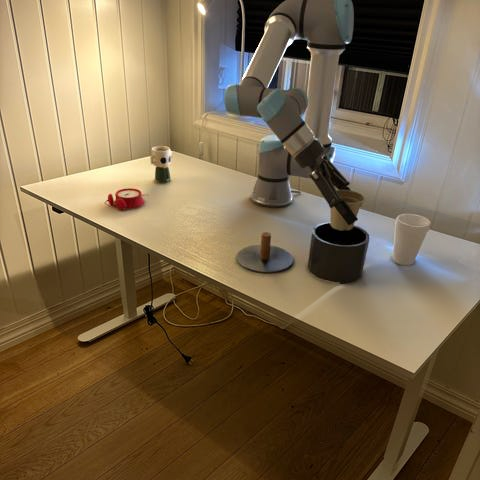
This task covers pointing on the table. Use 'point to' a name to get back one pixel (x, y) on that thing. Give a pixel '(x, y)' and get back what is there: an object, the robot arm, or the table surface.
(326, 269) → the canister
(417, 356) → the table surface
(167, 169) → the character mug
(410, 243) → the foam cup
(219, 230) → the table surface
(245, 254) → the lid
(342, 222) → the flower pot
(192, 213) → the table surface
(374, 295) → the table surface
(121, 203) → the alarm clock
